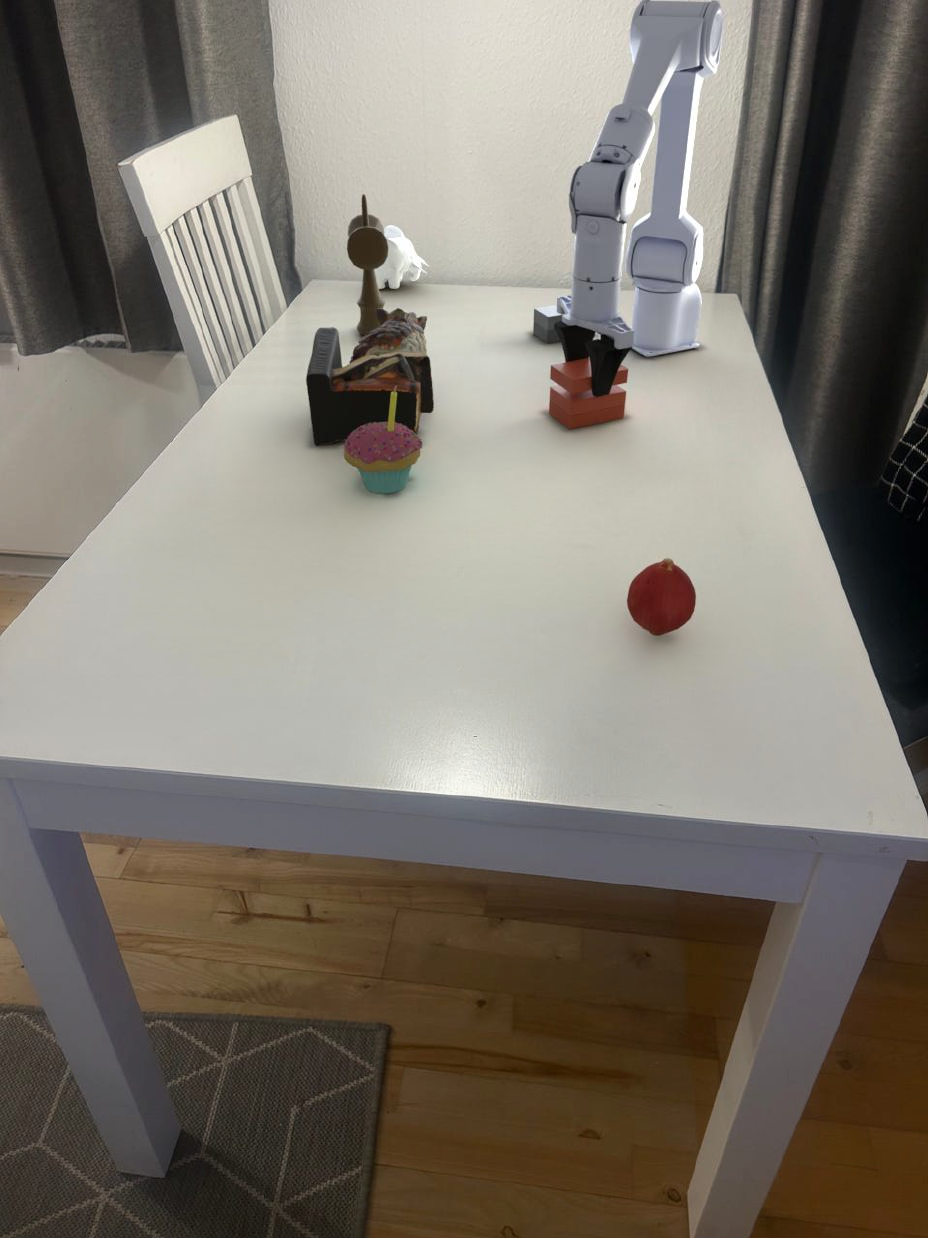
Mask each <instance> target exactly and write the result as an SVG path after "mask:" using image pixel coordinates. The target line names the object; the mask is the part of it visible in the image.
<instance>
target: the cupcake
mask: <svg viewBox="0 0 928 1238" xmlns="http://www.w3.org/2000/svg"><path fill="white" fill-rule="evenodd" d="M396 387H397V386H395V387H394V392H391V398H390V408H389V419H388V422H386V421H385V422H377V423H376V422H373V423H370V424H368V423H367V424H364V425H362V426H360V427H359V428H357V429H356V430H354V431H352V433H350V434H349V435H348V436H347V437H348V438H347V440H344V441H345V442H344V450H343V458H344V460H345V461H346V463H348V464H349V465H350V466H351V467H353V468H356V469H357V472H358V473H359V475H360V478H361V480H362V482H363V484H364V487H365V488H366V489H367V491H370V492H373V493H374V494H380V495H381V494H382V495H386V494H393V493H397V492H400V491H402V490H403V489H404V488H405V487H406V485H407V484H408V481H409V476H410V472H411V469H412V467H413V466H414V465H415V464H416V463H417V462H418V459H419V458H420V456H421V449H422V448H423V442H422V440H421V438H419V437H418V436H417V432H416V433H414V432H413V430H410V429H409V428H407V426H405V425H402V424H401V423H400V424H399V423H396V422H394V420H395V410H396V400H397V392H396Z"/></svg>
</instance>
